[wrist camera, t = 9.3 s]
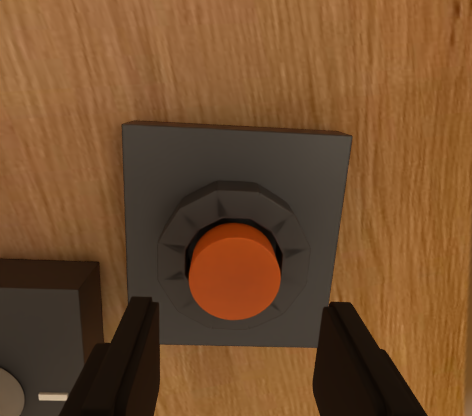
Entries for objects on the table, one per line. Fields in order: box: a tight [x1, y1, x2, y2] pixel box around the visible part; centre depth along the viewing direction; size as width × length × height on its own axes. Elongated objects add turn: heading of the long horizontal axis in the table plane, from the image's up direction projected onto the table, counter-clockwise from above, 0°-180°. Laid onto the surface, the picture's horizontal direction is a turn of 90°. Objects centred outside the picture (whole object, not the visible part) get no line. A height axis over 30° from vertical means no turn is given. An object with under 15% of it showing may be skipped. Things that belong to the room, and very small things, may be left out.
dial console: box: [0, 259, 104, 416], centre depth 20 cm, size 12×10×3 cm
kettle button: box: [189, 223, 281, 320], centre depth 15 cm, size 4×4×2 cm
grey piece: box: [122, 121, 352, 348], centre depth 18 cm, size 11×10×4 cm
